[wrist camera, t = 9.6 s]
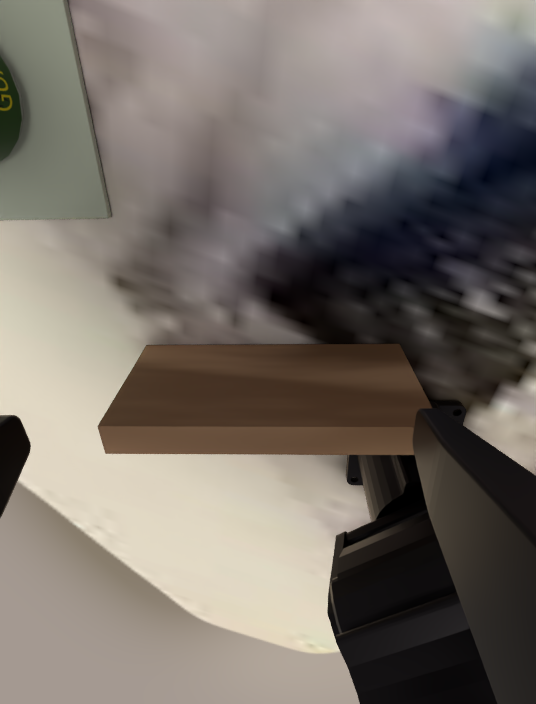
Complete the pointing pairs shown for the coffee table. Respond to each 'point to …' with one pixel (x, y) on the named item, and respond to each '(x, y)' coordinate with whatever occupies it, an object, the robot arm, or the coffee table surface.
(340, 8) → the coffee table surface
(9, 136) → the beer can
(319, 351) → the stand
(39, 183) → the mat
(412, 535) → the robot arm
